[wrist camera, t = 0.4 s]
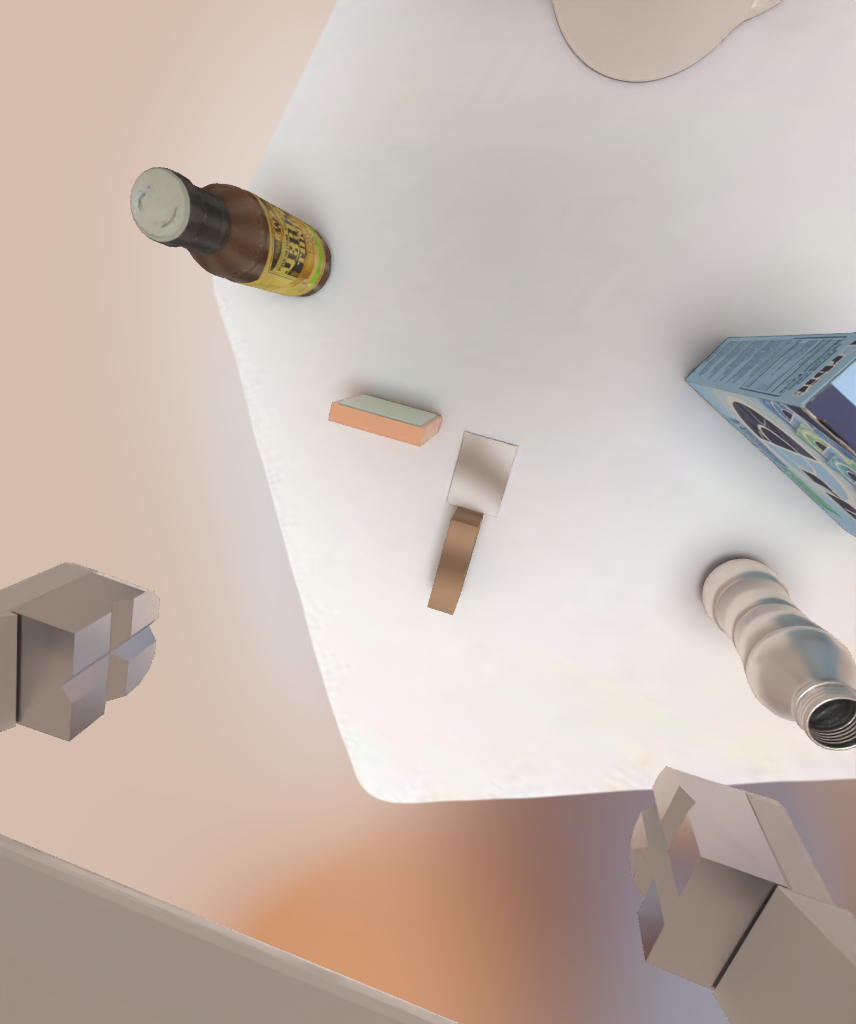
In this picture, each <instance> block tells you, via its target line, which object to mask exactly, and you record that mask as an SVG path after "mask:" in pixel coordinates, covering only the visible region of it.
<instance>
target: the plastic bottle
mask: <svg viewBox="0 0 856 1024" xmlns="http://www.w3.org/2000/svg"><path fill="white" fill-rule="evenodd" d="M702 598H703V604H704V608H705V611H706V613H707V615H708V617H709V618H710V619H711V620H712V622H713V623H714V624H715V625H716V626H717V627H718V628H719V629H721V630H722V631H723V632H724V633H725V634H726V635H727V636H728V637H729V638H730V640H731V641H732V642H733V643H734V645H735V647H736V649H737V652H738V654H739V656H740V658H741V660H742V663H743V667H744V670H745V673H746V677H747V680H748V683H749V685H750V688H751V690H752V692H753V694H754V696H755V697H756V699H757V700H758V701H759V702H760V703H761V704H762V705H763V706H765V707H766V708H767V709H769V710H770V711H771V712H773V713H774V714H775V715H777V716H779V717H781V718H783V719H787V720H790V721H794V722H796V723H797V724H798V725H799V726H800V728H801V729H803V730H804V731H805V733H806V734H807V735H808V737H809V738H810V739H811V740H812V741H813V742H814V743H816V744H817V745H819V746H821V747H823V748H826V749H829V750H847V749H851V748H854V747H856V665H855V662H854V659H853V657H852V655H851V653H850V651H849V650H848V649H847V648H846V647H845V645H843V644H842V643H841V642H840V641H839V640H838V639H836V638H835V637H834V636H833V635H831V634H830V633H828V632H827V631H825V630H824V629H822V628H821V627H820V626H818V625H817V624H815V623H814V622H812V621H811V620H810V619H809V618H808V617H807V616H806V615H804V614H803V613H802V612H801V611H800V610H799V609H798V608H797V607H796V605H795V604H794V602H793V601H792V599H791V598H790V596H789V594H788V591H787V589H786V587H785V585H784V583H783V582H782V580H781V578H780V577H779V576H778V574H777V573H776V572H775V571H773V570H772V569H771V568H769V567H767V566H765V565H763V564H761V563H759V562H757V561H754V560H750V559H735V560H731V561H727V562H725V563H723V564H721V565H719V566H718V567H716V568H715V569H714V570H713V571H712V572H711V573H710V574H709V576H708V577H707V578H706V580H705V583H704V585H703V590H702Z"/></svg>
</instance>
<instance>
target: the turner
mask: <svg viewBox="0 0 856 1024" xmlns="http://www.w3.org/2000/svg"><path fill="white" fill-rule="evenodd" d="M517 447H518V446H515V445H512V444H508V443H504V442H501V441H497V440H494V439H490V438H487V437H483V436H479V435H476V434H472V433H469V432H465V434H464V438H463V442H462V445H461V449H460V453H459V457H458V460H457V464H456V468H455V472H454V475H453V479H452V483H451V487H450V491H449V494H448V498H447V502H446V503H450V504H453V505H456V506H459V507H458V508H457V510H456V512H455V514H454V515H453V517H452V519H451V522H450V526H449V529H448V533H447V537H446V540H445V544H444V548H443V551H442V555H441V559H440V562H439V566H438V570H437V574H436V577H435V581H434V585H433V588H432V592H431V596H430V599H429V603H428V607H429V608H432V609H435V610H439V611H442V612H445V613H448V614H451V615H453V613H454V611H455V608H456V605H457V602H458V599H459V597H460V594H461V591H462V587H463V584H464V580H465V577H466V574H467V570H468V567H469V563H470V560H471V556H472V553H473V549H474V546H475V543H476V539H477V536H478V532H479V529H480V525H481V522H482V519H483V515H484V514H487V515H490V516H493V517H497V514H498V510H499V507H500V504H501V500H502V497H503V494H504V490H505V487H506V484H507V480H508V477H509V474H510V470H511V467H512V464H513V460H514V457H515V454H516V450H517Z"/></svg>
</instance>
